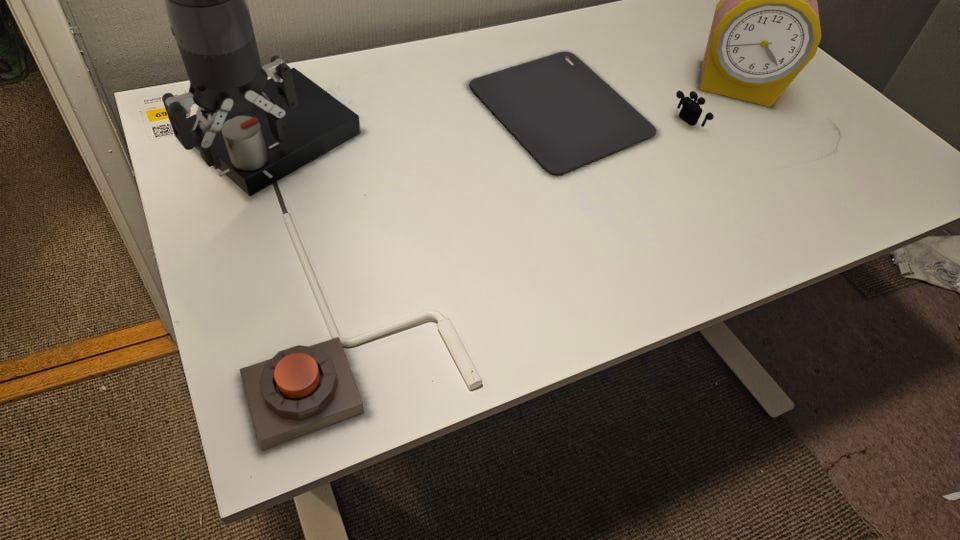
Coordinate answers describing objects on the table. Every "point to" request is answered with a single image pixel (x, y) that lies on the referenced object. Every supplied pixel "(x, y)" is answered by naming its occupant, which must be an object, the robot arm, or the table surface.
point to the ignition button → (297, 375)
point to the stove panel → (292, 134)
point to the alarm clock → (759, 47)
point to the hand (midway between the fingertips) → (247, 150)
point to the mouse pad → (562, 111)
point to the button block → (300, 416)
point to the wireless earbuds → (692, 108)
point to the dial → (245, 143)
